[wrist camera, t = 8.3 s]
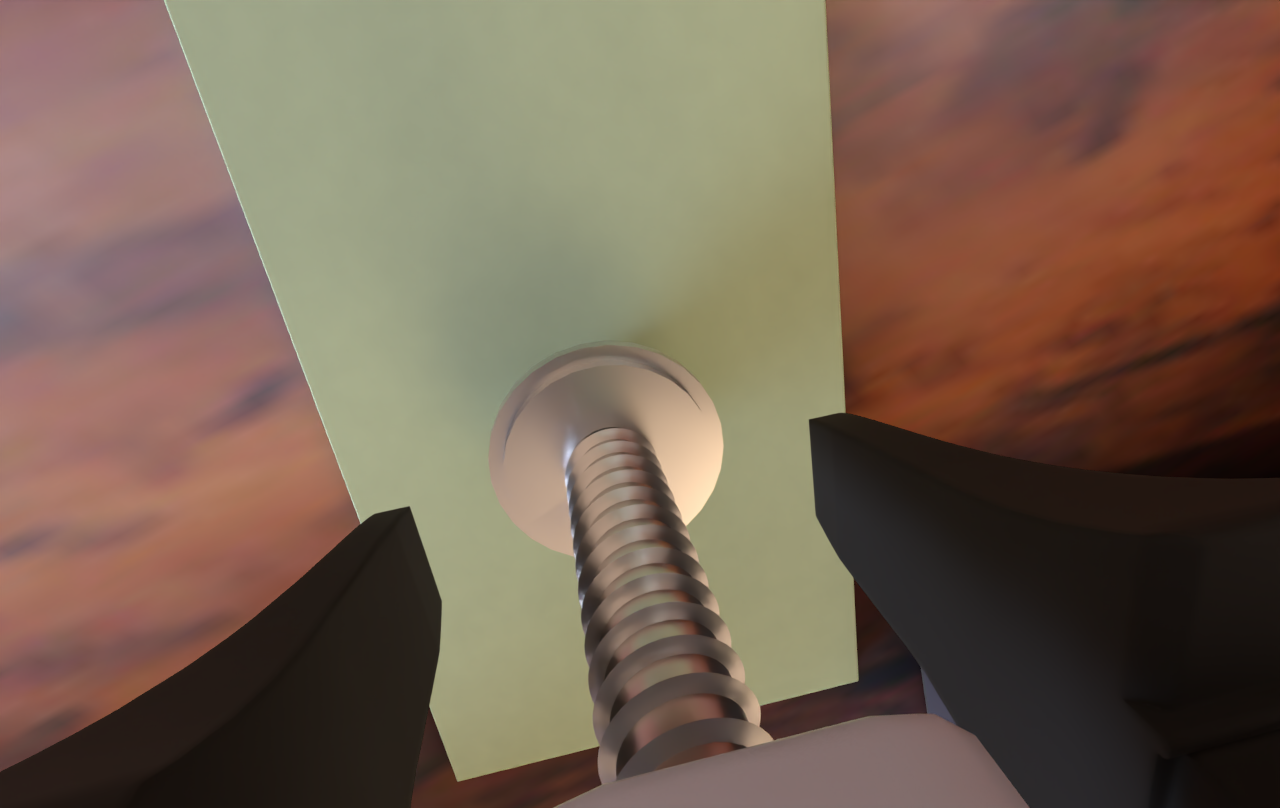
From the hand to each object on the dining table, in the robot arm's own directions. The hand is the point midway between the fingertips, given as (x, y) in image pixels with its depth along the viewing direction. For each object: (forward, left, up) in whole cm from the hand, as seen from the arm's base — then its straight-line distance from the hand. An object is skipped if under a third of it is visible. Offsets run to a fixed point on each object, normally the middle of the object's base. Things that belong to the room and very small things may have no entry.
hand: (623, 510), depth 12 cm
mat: (0, 0, -5) cm, 5 cm away
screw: (0, 0, -4) cm, 4 cm away
